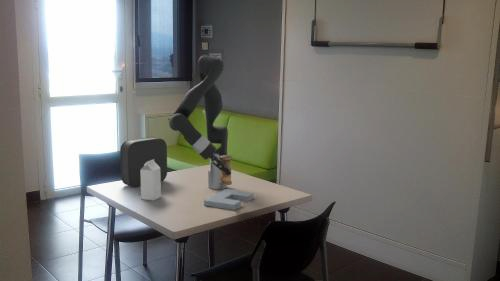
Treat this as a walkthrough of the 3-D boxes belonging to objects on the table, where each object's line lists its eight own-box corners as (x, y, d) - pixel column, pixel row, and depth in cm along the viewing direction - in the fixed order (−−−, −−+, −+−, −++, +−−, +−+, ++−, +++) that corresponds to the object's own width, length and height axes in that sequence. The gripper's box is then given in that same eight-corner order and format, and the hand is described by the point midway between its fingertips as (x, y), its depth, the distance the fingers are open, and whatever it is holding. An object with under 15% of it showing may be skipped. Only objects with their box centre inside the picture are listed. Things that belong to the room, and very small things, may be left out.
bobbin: (217, 184, 223) (217, 157, 220) (223, 181, 228) (223, 154, 225) (228, 186, 220) (228, 158, 218) (233, 183, 225) (234, 156, 223)
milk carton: (161, 197, 239) (160, 159, 236) (153, 201, 233) (152, 162, 230) (148, 195, 242) (147, 158, 238) (141, 199, 235) (140, 161, 232)
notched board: (204, 205, 227) (204, 200, 227) (225, 193, 247) (225, 188, 246) (234, 210, 221) (234, 204, 220) (253, 197, 240) (253, 192, 240)
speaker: (128, 189, 252) (127, 142, 248) (119, 186, 258) (118, 140, 254) (167, 181, 270) (166, 137, 266) (158, 178, 276) (157, 135, 272)
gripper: (209, 144, 213) (236, 171, 216) (210, 138, 227) (235, 163, 230) (197, 156, 213) (224, 182, 216) (199, 149, 228) (224, 174, 230)
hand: (229, 172), depth 223 cm, fingers closed on bobbin, 4 cm apart
